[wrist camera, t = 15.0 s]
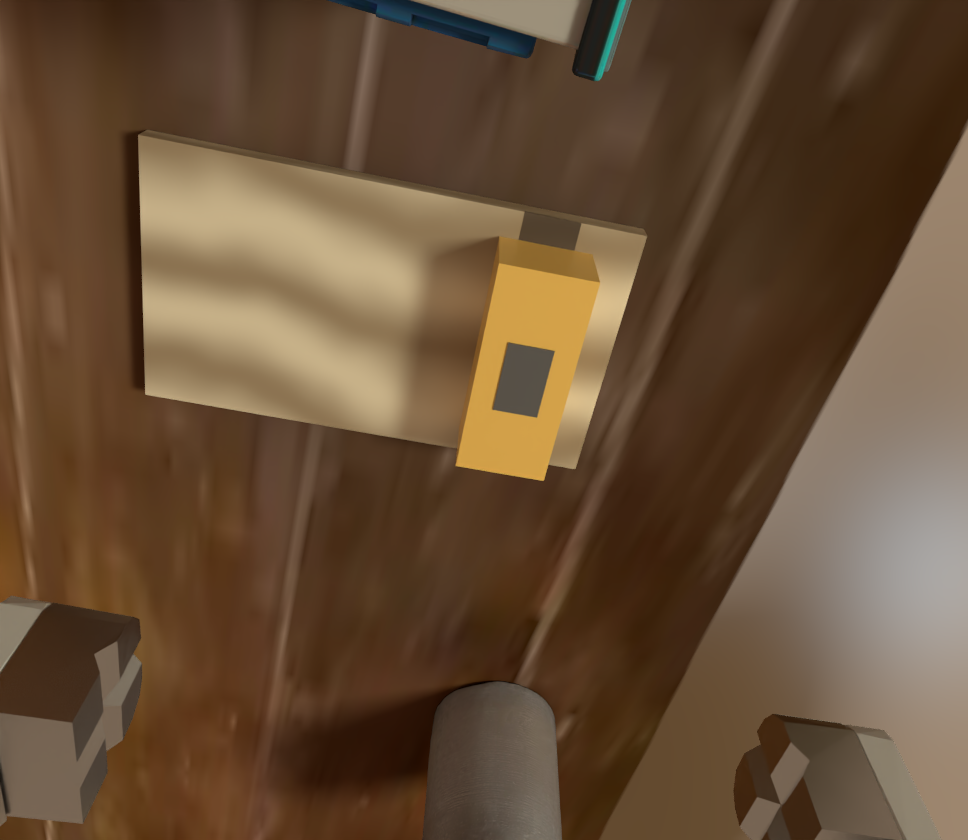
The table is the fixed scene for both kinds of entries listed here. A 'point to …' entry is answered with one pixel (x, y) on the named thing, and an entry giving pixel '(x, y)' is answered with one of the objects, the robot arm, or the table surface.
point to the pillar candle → (493, 767)
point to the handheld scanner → (517, 24)
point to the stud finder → (525, 357)
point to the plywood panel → (342, 290)
